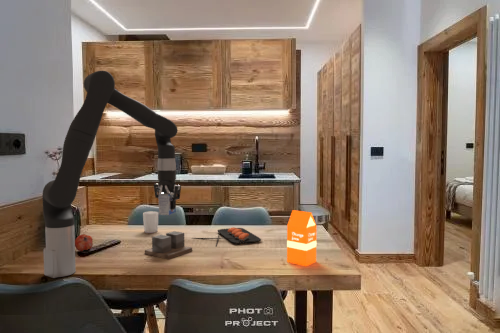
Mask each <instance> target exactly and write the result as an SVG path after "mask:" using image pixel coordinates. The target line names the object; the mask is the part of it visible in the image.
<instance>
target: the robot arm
mask: <svg viewBox="0 0 500 333" xmlns="http://www.w3.org/2000/svg"><path fill="white" fill-rule="evenodd" d="M83 88H84V90H85V92H86V95H85V99H84V101H83V102H82V105H81V108H80V109H79V110H78V112H77V113H76V115H75V116H74V118H73V120H72V121H71V123H70V125H69V127H68V130H67V132H66V135H65V139H64V141H63V145H62V152H61V153H62V154H61V155H62V156H61V161H60V165H59V166H60V167H59V169H58V171H57V174H56V176H55V178H54V180H51V181H49V182H47V183H46V184H45V186H44V187H43V190H42V196H41V197H42V210H43V212H42V213H43V220H44V224H45V225H44V226H45V230H44V231H45V247H44V248H43V274H44V276H46V277H49V278H52V279H56V278H61V277H67V276H70V275H73V274H74V273H76V247H75V239H76V238H75V237H76V236H75V217H74V214H73V210H72V203H73V202H74V201H75V198H76V196H77V193H78V188H79V183H80V180H81V177H82V173H83V170H84V167H85V166H86V163H87V160H88V158H89V155H90V152H91V151H92V148H93V145H94V142H95V140H96V136H97V132H98V130H99V127H100V124H101V121H102V118H103V114H104V111H105V109H106V107H107V104H109V106H111V107H114V108H115V109H118V110H120V111H121V112H123V114H126V115H128V116H129V117H131V118H132V119H134V120H135V121H136V122H138V123H140V124H141V125H143V126H145V127H146V128H148V129H149V128H150V129H153V130H154V138H155V141H156V146H157V180H158V181H159V182H158V183H154V184H153V192H154V198H156V199H158V200H159V195H160V194H163V193H167V194H169V195H170V200H171V201H170V209H171V210H174V209H175V208H176V209H177V205H176V204H177V203H176V202H177V200H180V198H181V189H182V185H179V184H178V185H177V184H176V180H177V162H176V148H175V145H174V144H172V141H171V139H172V138H174V137H176V135H177V134H178V127H177V125H176V124H175V123H174V122H173V121H172V119H171V120H170V119H169V118H167V117H165V116H164V115H161V114H159V113H157V112H156V111H154V110H153V109H152V108H150V107H148V105H146V104H144V103H142V102H140V101H138V100H136V99H134V98H132V97H130V96H128V95H126V94H124V93H122V92H120V91H119V90H118V89H116V83H115V78H114V76H113V75H112V73H110V72H108V71H107V70H96V71H94V72H92V73H90V74H88V75H87V76H86V77H85V78H84V81H83ZM172 196H173V197H172Z"/></svg>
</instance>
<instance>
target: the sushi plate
mask: <svg viewBox="0 0 500 333" xmlns="http://www.w3.org/2000/svg"><path fill="white" fill-rule="evenodd" d="M217 232H218V235H217V237H192V239H193V240H194V239H196V240H214V239H215V240H216V243H215V248H216V247H218V243H219V240H221V239H222V240H224V239H225V240H228V241H230V243H233V244H249V243H250V244H251V243H255V242H261V241H262V238H260V237H259V236H257V235H256V234H253V233H252V232H250V231H249V230H247V229H245V228H243V227H233V226H232V227H229V228H220V229H217ZM220 235H221V236H222V237H220Z"/></svg>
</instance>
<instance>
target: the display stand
mask: <svg viewBox="0 0 500 333" xmlns="http://www.w3.org/2000/svg"><path fill="white" fill-rule="evenodd" d="M190 252H193V247H191V246H186V245H185V232H182V231H176V230H174V231H171V232H166V233H165V234H158V235H155V236H152V237H151V248H147V249H144V254H145V255H148V256H154V257H157V258H162V259H166V260H171V259H173V258H176V257H179V256H182V255H185V254H187V253H190Z"/></svg>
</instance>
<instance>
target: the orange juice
mask: <svg viewBox="0 0 500 333" xmlns="http://www.w3.org/2000/svg"><path fill="white" fill-rule="evenodd" d="M317 226H318V225H317V224H316V220H315V218H314V215H313V212H310V211H303V210H297V209H296V210H295V209H292V210H291V213H290V216H289V219H288V223H287V225H286V238H287V239H286V262H287V263H289V262H290V263H289V264H294V265H299V266H303V267H308V266H310V265H313V264H314V263H316V262H317Z"/></svg>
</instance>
